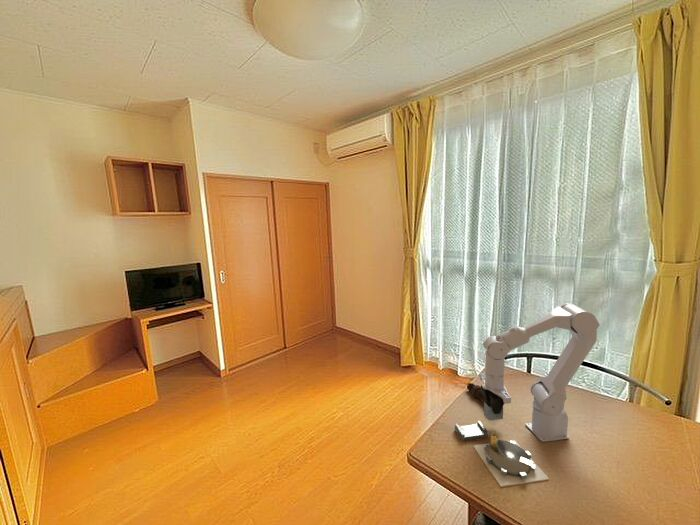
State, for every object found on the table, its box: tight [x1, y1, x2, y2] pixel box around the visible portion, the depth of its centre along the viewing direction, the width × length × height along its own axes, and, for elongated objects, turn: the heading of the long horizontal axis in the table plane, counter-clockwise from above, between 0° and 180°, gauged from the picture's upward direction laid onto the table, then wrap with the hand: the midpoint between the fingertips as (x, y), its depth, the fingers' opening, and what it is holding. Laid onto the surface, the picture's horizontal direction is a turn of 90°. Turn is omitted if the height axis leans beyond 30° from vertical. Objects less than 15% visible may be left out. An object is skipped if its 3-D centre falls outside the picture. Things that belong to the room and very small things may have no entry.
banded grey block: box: [483, 400, 504, 421], centre depth 98 cm, size 5×3×5 cm, turn 96°
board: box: [473, 439, 550, 488], centre depth 85 cm, size 14×14×1 cm
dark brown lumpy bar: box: [466, 382, 486, 403], centre depth 113 cm, size 6×5×15 cm
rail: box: [454, 420, 489, 442], centre depth 96 cm, size 9×5×2 cm, turn 96°
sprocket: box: [484, 433, 535, 479], centre depth 84 cm, size 13×13×6 cm
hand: (493, 409), depth 98 cm, fingers closed on banded grey block, 3 cm apart
